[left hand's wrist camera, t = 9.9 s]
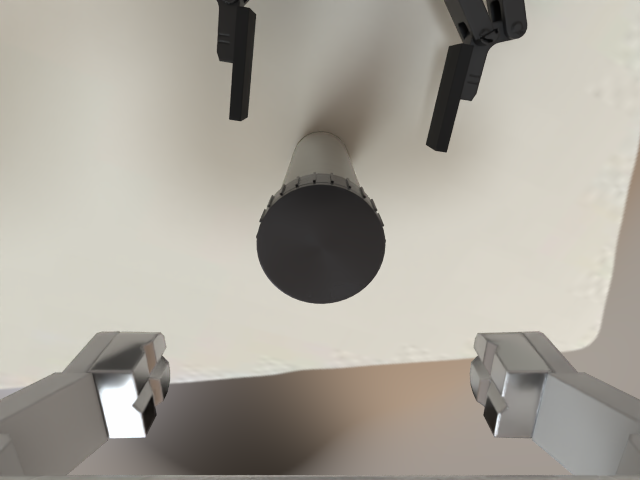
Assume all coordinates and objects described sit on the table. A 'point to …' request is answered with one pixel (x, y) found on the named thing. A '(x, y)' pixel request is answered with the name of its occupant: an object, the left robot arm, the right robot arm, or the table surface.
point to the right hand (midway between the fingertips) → (338, 134)
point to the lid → (320, 239)
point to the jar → (320, 158)
